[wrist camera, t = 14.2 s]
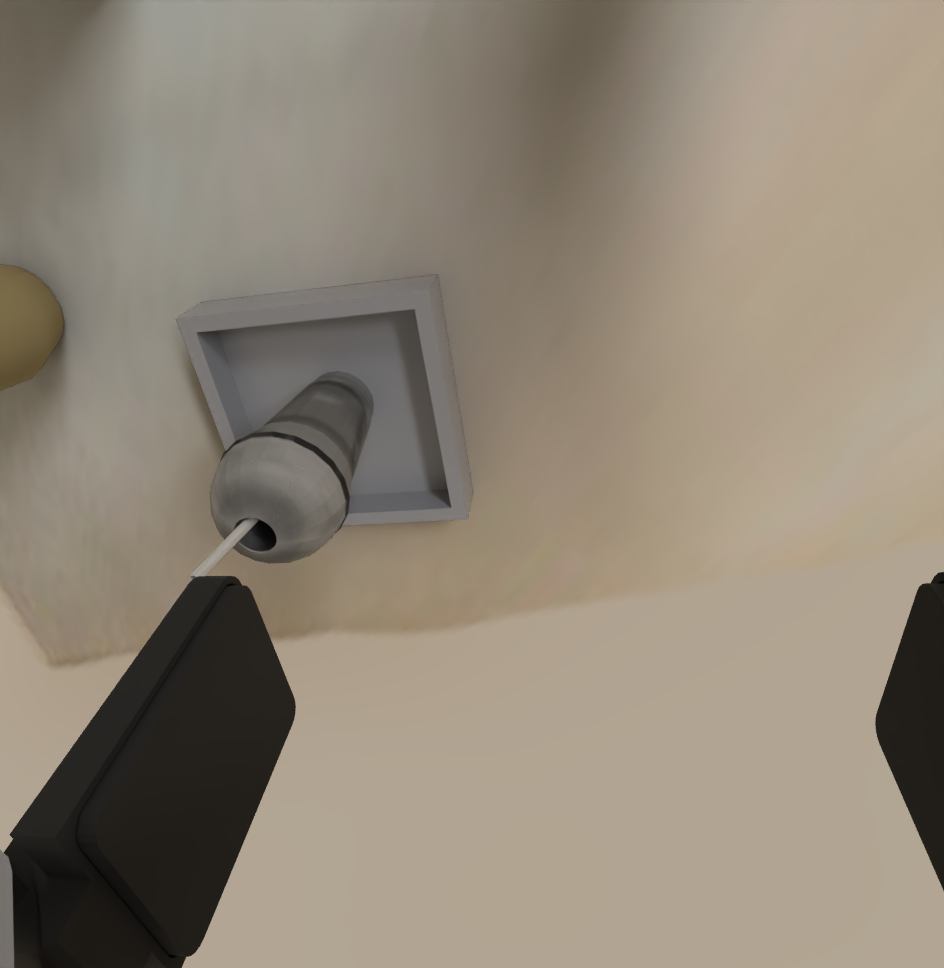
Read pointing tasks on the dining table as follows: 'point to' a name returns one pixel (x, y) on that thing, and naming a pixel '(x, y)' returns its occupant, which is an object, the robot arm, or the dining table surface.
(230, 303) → the tray
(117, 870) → the robot arm
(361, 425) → the beverage cup
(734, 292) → the dining table surface
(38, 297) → the squeeze bottle
